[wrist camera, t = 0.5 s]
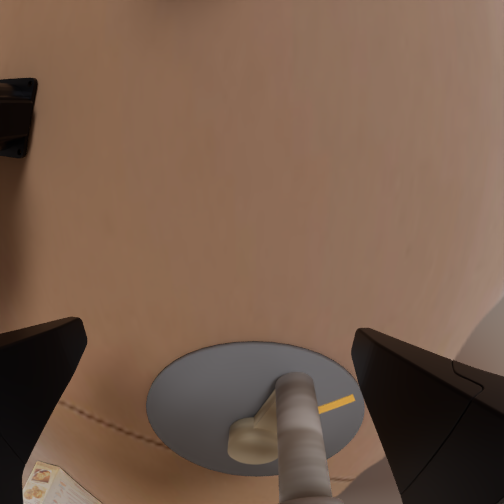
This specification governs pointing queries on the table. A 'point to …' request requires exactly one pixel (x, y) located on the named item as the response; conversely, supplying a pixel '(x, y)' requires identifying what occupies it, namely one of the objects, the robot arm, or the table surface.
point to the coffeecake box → (54, 487)
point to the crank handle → (287, 441)
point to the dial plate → (244, 400)
